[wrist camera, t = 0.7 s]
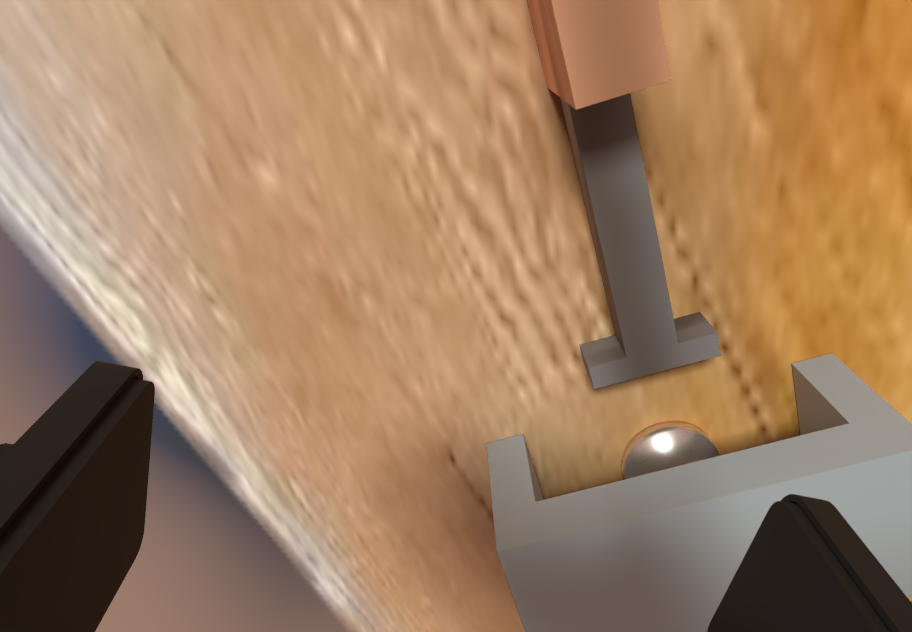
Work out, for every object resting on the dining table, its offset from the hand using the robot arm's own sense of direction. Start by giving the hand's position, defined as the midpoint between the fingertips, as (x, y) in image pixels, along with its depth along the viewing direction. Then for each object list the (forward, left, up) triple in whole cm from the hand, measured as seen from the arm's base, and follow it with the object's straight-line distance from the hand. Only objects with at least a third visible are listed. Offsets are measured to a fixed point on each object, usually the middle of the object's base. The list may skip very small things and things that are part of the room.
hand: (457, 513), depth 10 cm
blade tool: (-7, +2, -23) cm, 24 cm away
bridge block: (-7, +18, -23) cm, 30 cm away
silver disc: (-7, +18, -23) cm, 30 cm away
